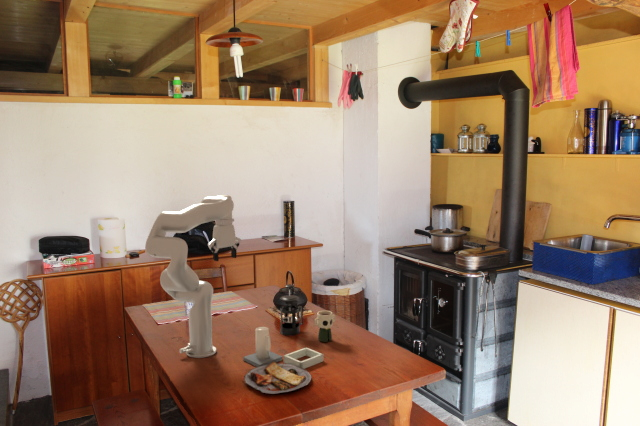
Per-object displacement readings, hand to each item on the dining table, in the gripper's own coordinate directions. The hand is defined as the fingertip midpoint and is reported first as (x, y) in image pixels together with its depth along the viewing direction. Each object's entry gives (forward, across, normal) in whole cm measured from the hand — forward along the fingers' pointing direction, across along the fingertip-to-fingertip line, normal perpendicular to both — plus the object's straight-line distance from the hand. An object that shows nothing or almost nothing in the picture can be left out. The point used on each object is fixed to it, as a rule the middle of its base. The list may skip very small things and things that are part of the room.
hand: (225, 259), depth 253 cm
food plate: (+37, +14, +55) cm, 67 cm away
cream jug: (+35, +6, +36) cm, 50 cm away
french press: (+37, -24, +18) cm, 47 cm away
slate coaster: (+36, +6, +35) cm, 51 cm away
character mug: (+37, -28, +37) cm, 59 cm away
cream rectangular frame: (+36, -5, +48) cm, 60 cm away
